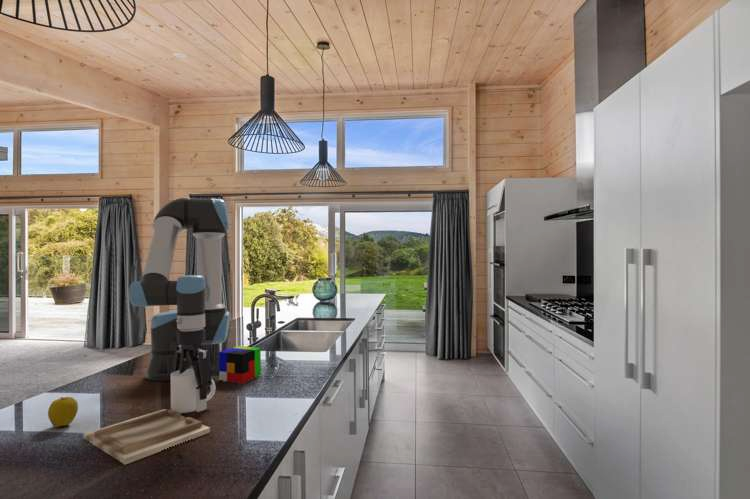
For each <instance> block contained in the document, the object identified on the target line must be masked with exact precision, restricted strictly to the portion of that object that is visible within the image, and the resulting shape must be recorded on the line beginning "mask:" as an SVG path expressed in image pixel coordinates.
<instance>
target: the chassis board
mask: <svg viewBox="0 0 750 499" xmlns="http://www.w3.org/2000/svg"><path fill="white" fill-rule="evenodd" d="M209 433H211V427H210V426H206V425H204V424H203V422H202V421H200V420H198V419H195V418H194V417H191V416H187V417H185V416H183V415H182V413H179V412H177V411H174V410H172V409H171V408H168V409H165V408H164V409H160V410H157V411H154V412H151V413H150V412H149V413H146V414H143V415H141V416H137V417H133V418H130V419H127V420H124V421H121V422H116V423H114V424H110V425H107V426H103V427H101V428H98V429H93V430H91V431H87V432H85V433H83V440H85V441H87V442H88V441H89V442H88V443H89V444H91V443H92V444H91V445H93V446H95V447H96V448H98V449H99V450H101V451H102V452H104V453H105V454H108V455H109V456H111V457H113V458H114V459H115V460H117V461H118V460H119V461H118V462H120V463H121V464H123V465H127V464H131V463H133V462H136V461H139V460H141V459H143V458H147V457H149V456H152V455H155V454H157V453H160V452H162V450H163V451H165V450H168V449H170V448H169V447H171V448H172V446H173V447H176V446H178V445H181V444H183V442H184V443H186V442H188V440H189V441H192V440H194V439H196V438H197V439H198V438H199V437H202V436H204V435H207V434H209ZM191 439H192V440H191ZM185 441H186V442H185ZM180 443H181V444H180ZM177 444H178V445H177ZM175 445H176V446H175ZM167 448H168V449H167ZM164 449H165V450H164Z"/></svg>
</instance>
